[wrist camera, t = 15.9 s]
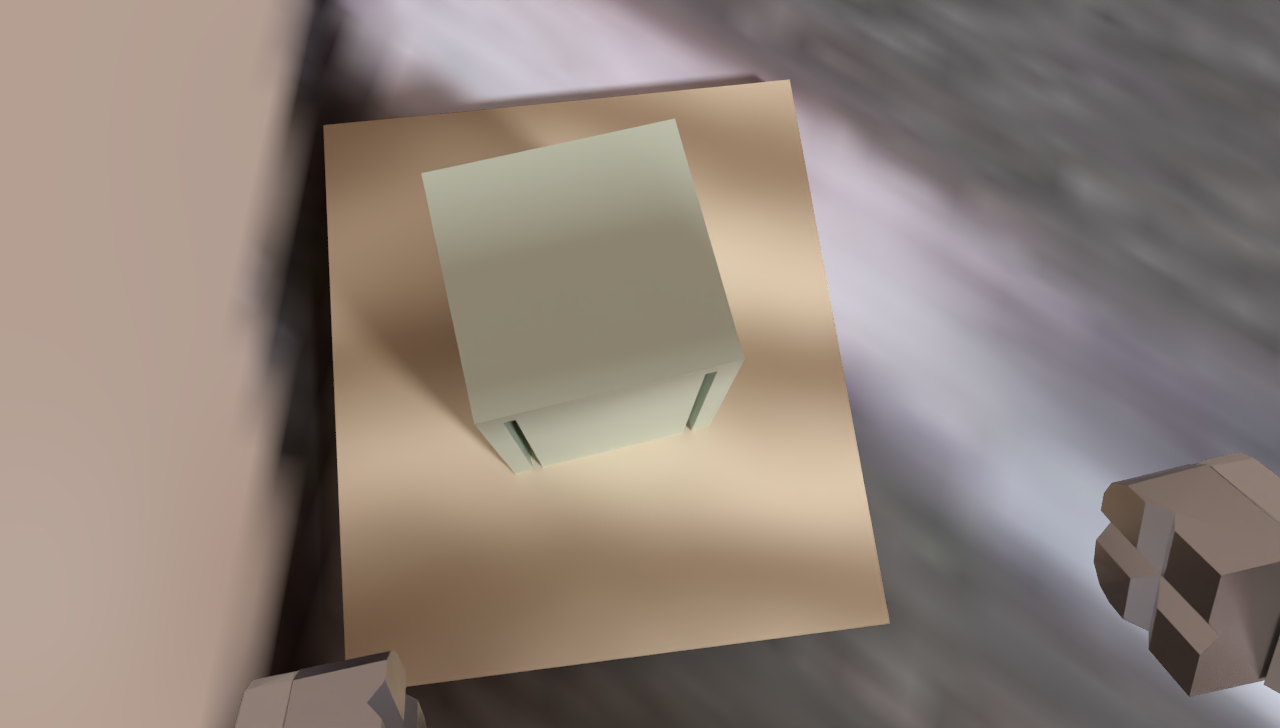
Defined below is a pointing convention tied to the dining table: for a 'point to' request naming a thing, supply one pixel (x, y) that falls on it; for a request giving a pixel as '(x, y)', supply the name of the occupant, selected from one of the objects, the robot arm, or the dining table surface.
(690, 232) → the slotted sage cube
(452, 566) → the post board
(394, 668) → the robot arm
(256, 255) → the dining table surface
